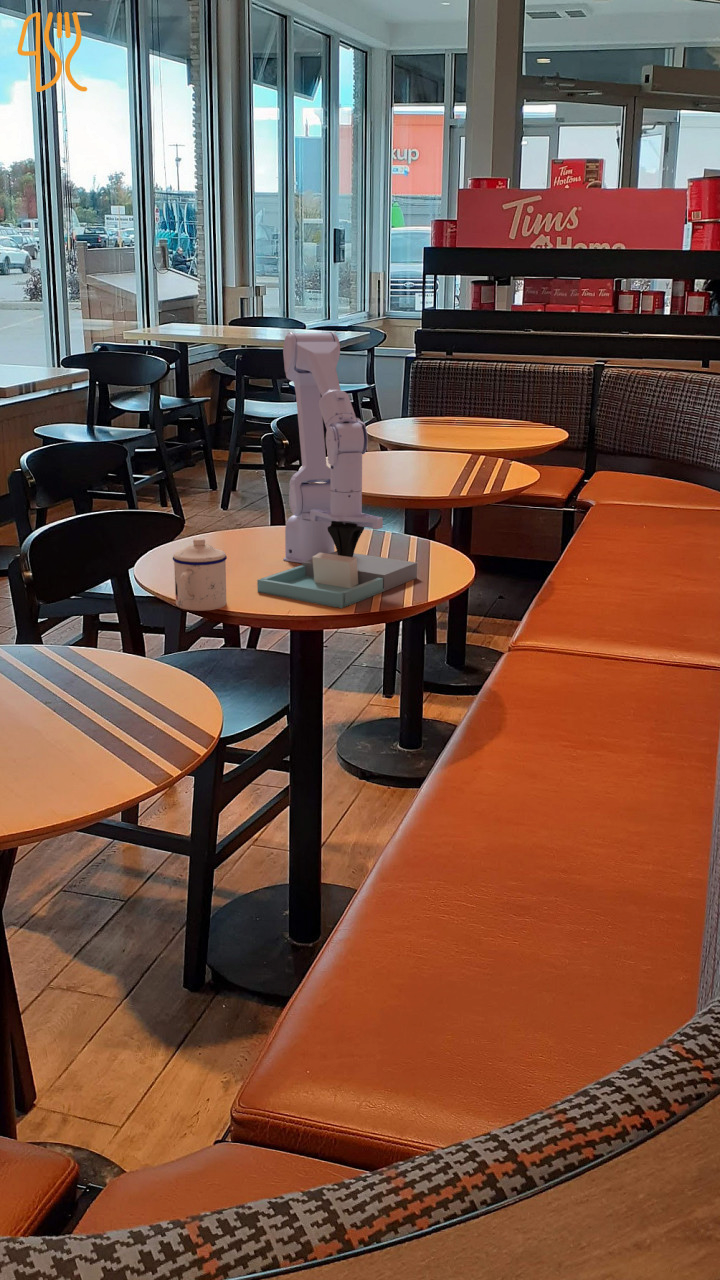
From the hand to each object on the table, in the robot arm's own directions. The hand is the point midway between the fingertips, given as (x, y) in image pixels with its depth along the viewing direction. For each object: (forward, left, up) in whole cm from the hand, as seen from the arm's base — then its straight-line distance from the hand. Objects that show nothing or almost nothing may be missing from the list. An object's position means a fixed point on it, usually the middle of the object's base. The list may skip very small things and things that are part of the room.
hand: (345, 563), depth 210 cm
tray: (0, -8, -4) cm, 9 cm away
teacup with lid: (-12, -28, -4) cm, 31 cm away
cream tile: (0, -2, 0) cm, 2 cm away
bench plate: (0, +5, -4) cm, 6 cm away
